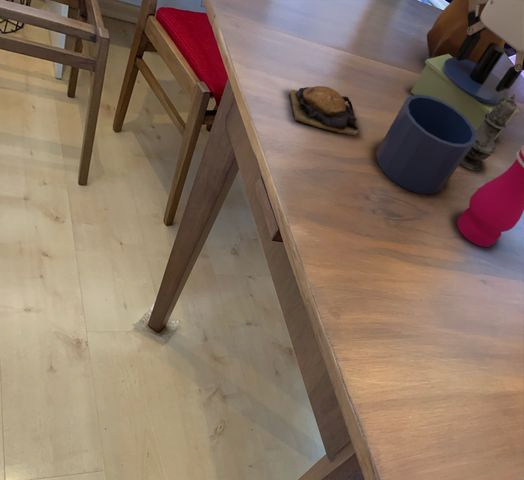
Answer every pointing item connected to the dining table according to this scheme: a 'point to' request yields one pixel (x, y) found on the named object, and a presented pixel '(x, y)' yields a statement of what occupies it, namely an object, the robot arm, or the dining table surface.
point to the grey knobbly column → (489, 133)
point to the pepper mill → (495, 206)
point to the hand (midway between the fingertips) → (480, 73)
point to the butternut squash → (457, 32)
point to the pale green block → (451, 92)
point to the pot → (425, 144)
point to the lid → (477, 75)
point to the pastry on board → (324, 109)
